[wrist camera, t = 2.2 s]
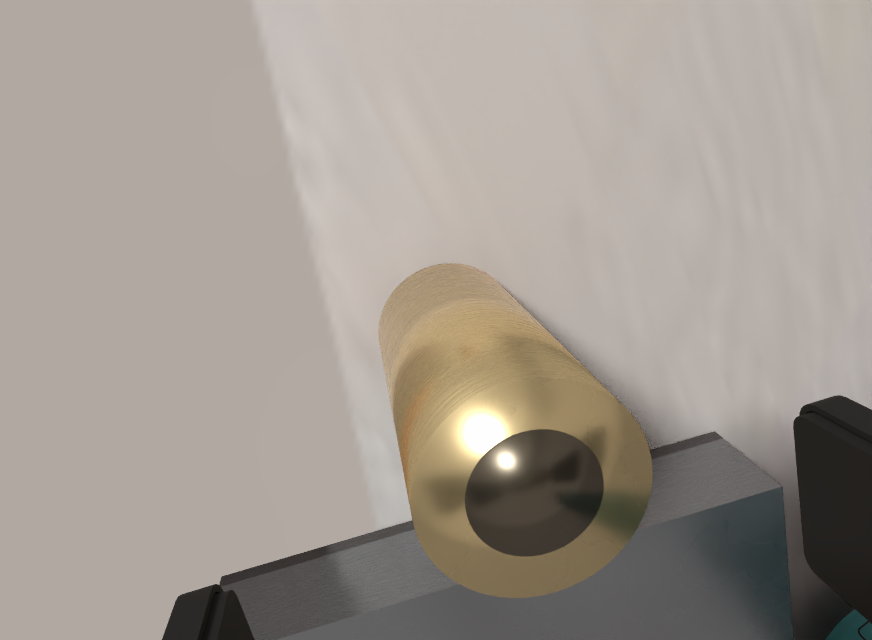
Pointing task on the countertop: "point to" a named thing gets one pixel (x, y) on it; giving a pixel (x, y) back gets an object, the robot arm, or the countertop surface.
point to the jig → (574, 606)
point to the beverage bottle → (852, 628)
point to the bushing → (506, 439)
